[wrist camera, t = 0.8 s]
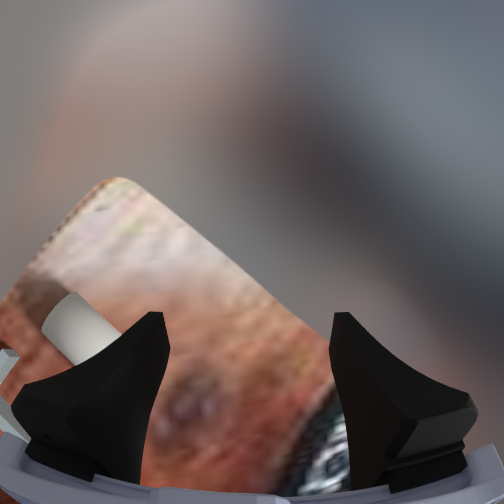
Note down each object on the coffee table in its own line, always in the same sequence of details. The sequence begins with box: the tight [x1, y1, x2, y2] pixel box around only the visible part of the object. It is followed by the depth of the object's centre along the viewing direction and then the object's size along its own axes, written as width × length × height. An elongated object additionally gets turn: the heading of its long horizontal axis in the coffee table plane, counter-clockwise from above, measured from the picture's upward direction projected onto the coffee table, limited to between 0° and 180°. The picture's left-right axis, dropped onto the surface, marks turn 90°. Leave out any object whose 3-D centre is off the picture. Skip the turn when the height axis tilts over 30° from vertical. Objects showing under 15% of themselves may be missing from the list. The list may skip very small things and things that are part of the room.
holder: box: [0, 349, 31, 444], centre depth 19 cm, size 6×11×4 cm, turn 54°
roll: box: [41, 292, 122, 366], centre depth 23 cm, size 5×7×5 cm
